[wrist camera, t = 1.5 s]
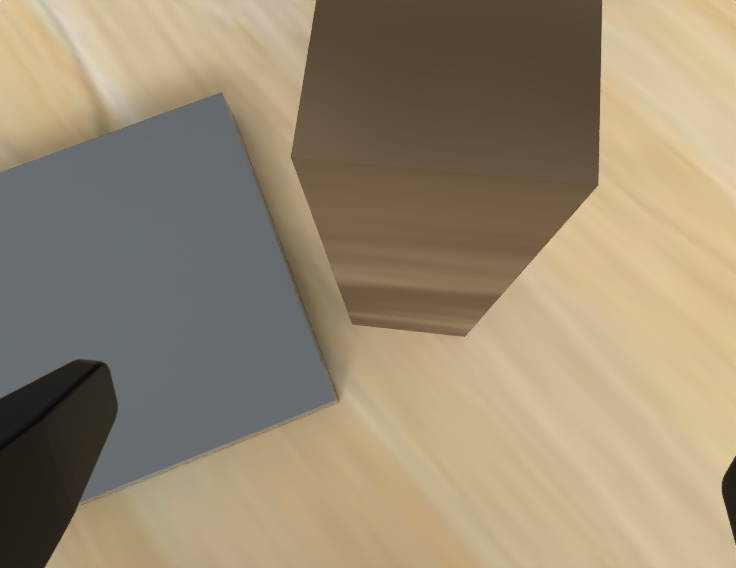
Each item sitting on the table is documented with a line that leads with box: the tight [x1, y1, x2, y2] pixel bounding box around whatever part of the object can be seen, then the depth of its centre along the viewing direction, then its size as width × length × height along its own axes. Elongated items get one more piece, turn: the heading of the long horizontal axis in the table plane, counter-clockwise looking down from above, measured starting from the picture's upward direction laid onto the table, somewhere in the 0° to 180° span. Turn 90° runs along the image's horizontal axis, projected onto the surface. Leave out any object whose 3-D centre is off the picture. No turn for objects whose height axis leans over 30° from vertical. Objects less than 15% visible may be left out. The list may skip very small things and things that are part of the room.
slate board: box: [0, 92, 339, 506], centre depth 20 cm, size 12×16×2 cm
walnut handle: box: [291, 0, 602, 337], centre depth 14 cm, size 4×4×13 cm
